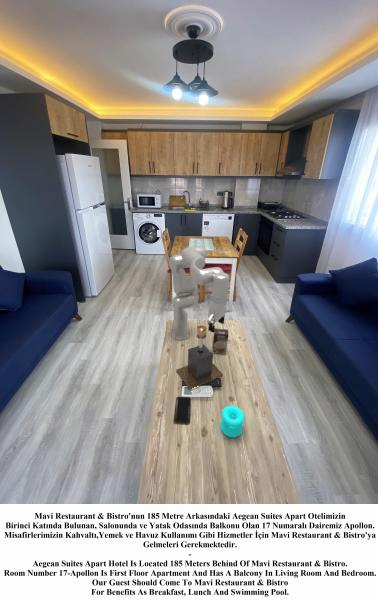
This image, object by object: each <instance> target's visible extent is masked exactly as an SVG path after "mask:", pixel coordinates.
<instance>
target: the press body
mask: <svg viewBox="0 0 378 600" xmlns="http://www.w3.org/2000/svg"><path fill="white" fill-rule="evenodd" d="M187 352H188V353H187V365H186V366H182V367H180V368H177V369H176V370H175V371H176V374H177V375H178V377H179V378H180V379H181V380H182V382H183V381H184V382H185V383H184V382H183V383H184V384H186V385H187V386H188V387H187V386H186V385H185V386H186V387H187V389H188V388H189V389H192V388H194V387H197V386H199V385H202V384H204V383H206V382H208V381H210V380H213V379H216V378H218V379H220V378H222V377H224V373H222V372H221V370H219V369H218V367H217V366H216V365H215V364H214V363H213V361H214V354H213V353H212V350H211V351H210V349H209V348H208V347H207V346H206V345H205V344H204V343H203V344H202V352H203V353H201V354H200V353H199V345H196V346H194V347H190V348H188V350H187ZM216 380H217V379H216ZM213 381H214V380H213ZM206 384H207V383H206ZM204 385H205V384H204ZM202 386H203V385H202ZM199 387H200V386H199ZM197 388H198V387H197ZM189 389H188V390H189ZM192 390H193V389H192Z"/></svg>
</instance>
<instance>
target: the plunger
mask: <svg viewBox="0 0 378 600" xmlns="http://www.w3.org/2000/svg"><path fill="white" fill-rule="evenodd" d="M207 329H208V328H207V326H205V325H198V326H197V327H196V338H197V339H199V345H198V346H199V353H200V354H201V353H203V352H202V344H204V343H203V342H204V341H203V340H205V339H206V338H207V331H208V330H207Z"/></svg>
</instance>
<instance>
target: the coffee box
mask: <svg viewBox="0 0 378 600" xmlns="http://www.w3.org/2000/svg"><path fill="white" fill-rule="evenodd" d="M212 336H213V338H212V346H211V347H212V348H211V352H212V353H213V355H220V356H221V355H222V356H227V349H228V344H229V343H228V342H229V329H223V328H215V329H214V333H213V335H212Z"/></svg>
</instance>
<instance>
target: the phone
mask: <svg viewBox="0 0 378 600" xmlns="http://www.w3.org/2000/svg"><path fill="white" fill-rule="evenodd" d="M191 406H192V397H191V396H177V397H175V405H174V414H173V424H175V425H190V424H191V410H192V407H191Z"/></svg>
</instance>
